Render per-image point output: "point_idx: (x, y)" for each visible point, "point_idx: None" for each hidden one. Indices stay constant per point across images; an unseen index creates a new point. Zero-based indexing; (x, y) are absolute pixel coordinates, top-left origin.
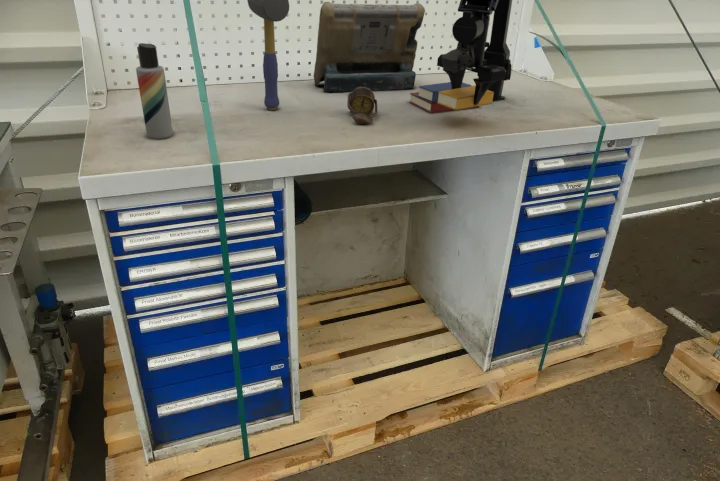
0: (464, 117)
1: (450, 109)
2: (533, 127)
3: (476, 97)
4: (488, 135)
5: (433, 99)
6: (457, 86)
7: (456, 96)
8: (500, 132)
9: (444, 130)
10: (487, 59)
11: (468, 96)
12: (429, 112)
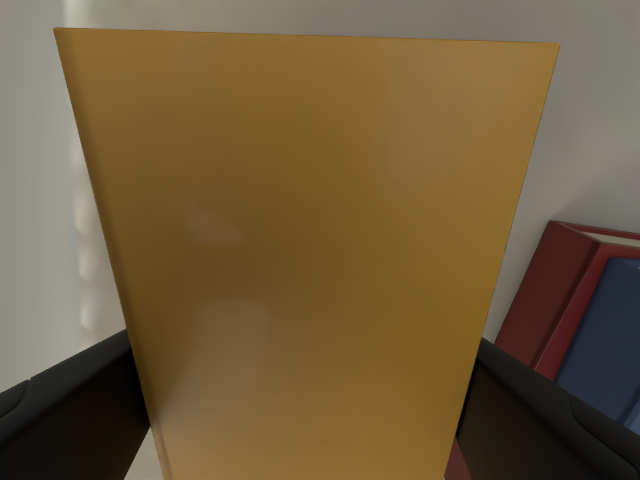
0: None
1: (500, 344)
2: (136, 456)
3: (97, 345)
4: (98, 227)
5: (625, 274)
6: (479, 422)
7: (165, 103)
8: (122, 311)
9: None
10: None
11: (113, 270)
12: (564, 222)
